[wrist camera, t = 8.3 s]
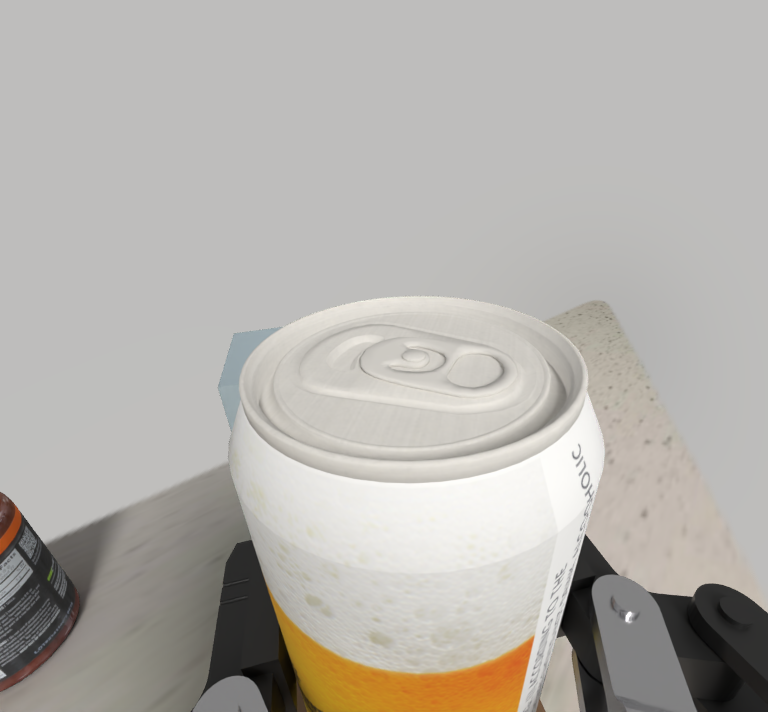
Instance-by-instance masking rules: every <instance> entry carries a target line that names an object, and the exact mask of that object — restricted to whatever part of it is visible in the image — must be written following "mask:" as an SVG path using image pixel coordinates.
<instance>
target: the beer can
mask: <svg viewBox="0 0 768 712" xmlns="http://www.w3.org/2000/svg"><path fill="white" fill-rule="evenodd" d="M587 387H588V372H587V367H586V364H585V361H584V359H583V357H582V355H581V354H580V352H579V350H578V349H577V348H576V347H575V346H574V344H573V343H572V342H571V341H570V340H569V339H568V338H566V337H565V336H564V335H563V334H562V333H560V332H559V331H557V330H556V329H554V328H553V327H551V326H550V325H548V324H546V323H544V322H542V321H540V320H538V319H536V318H534V317H531V316H529V315H527V314H524V313H521V312H519V311H516V310H513V309H509V308H506V307H503V306H498V305H495V304H490V303H486V302H480V301H475V300H468V299H461V298H451V297H436V296H403V297H388V298H379V299H371V300H364V301H359V302H354V303H349V304H344V305H340V306H336V307H333V308H329V309H326V310H322V311H319V312H316V313H313V314H311V315H308V316H306V317H303V318H301V319H298V320H296V321H294V322H292V323H290V324H288V325H286V326H284V327H283V328H281V329H279V330H278V331H276V332H275V333H273V334H271V335H270V336H269V337H267V338H266V339H265V340H264V341H262V342H261V343H260V344H259V345H258V346H257V347H256V348H255V349H254V350H253V351H252V353H251V354H250V355H249V357H248V358H247V359H246V361H245V363H244V365H243V367H242V370H241V374H240V378H239V393H240V398H241V400H240V403H239V407H238V411H237V414H236V418H235V421H234V425H233V428H232V433H231V437H230V441H229V452H228V459H229V467H230V473H231V476H232V479H233V482H234V485H235V488H236V492H237V495H238V498H239V501H240V504H241V507H242V510H243V513H244V516H245V520H246V523H247V526H248V529H249V532H250V535H251V538H252V541H253V544H254V548H255V551H256V554H257V557H258V560H259V563H260V566H261V569H262V572H263V576H264V579H265V582H266V585H267V588H268V591H269V594H270V597H271V601H272V604H273V607H274V610H275V613H276V616H277V619H278V622H279V625H280V629H281V632H282V635H283V638H284V641H285V644H286V647H287V650H288V653H289V657H290V660H291V663H292V666H293V669H294V672H295V675H296V678H297V681H298V685H299V688H300V691H301V694H302V697H303V700H304V703H305V706H306V709H307V712H536V709H537V706H538V702H539V699H540V695H541V691H542V688H543V684H544V681H545V677H546V673H547V670H548V666H549V662H550V659H551V655H552V652H553V648H554V644H555V641H556V637H557V634H558V630H559V626H560V623H561V619H562V615H563V612H564V608H565V605H566V601H567V597H568V594H569V590H570V587H571V583H572V579H573V576H574V572H575V568H576V565H577V561H578V558H579V554H580V550H581V547H582V543H583V540H584V536H585V532H586V529H587V525H588V521H589V518H590V514H591V511H592V507H593V503H594V500H595V496H596V493H597V489H598V485H599V482H600V478H601V474H602V471H603V467H604V455H605V449H604V441H603V435H602V432H601V429H600V426H599V423H598V420H597V417H596V415H595V412H594V409H593V406H592V404H591V401H590V398H589V395H588V393H587Z"/></svg>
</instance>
